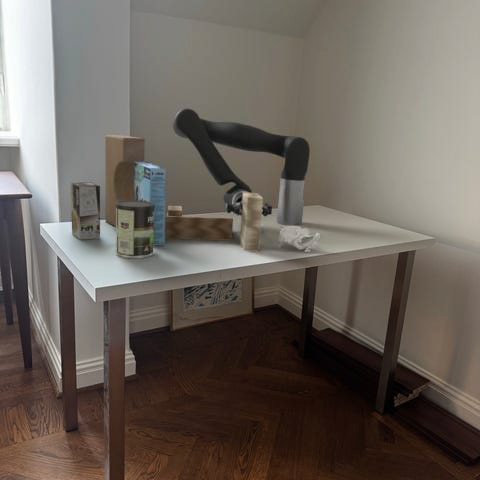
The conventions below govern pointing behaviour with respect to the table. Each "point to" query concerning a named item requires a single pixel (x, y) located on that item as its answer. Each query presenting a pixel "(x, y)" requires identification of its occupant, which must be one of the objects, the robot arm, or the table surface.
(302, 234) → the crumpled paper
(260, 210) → the light wooden block
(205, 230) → the brown wooden block
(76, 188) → the coffee box
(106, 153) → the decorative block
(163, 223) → the light blue carton
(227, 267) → the table surface
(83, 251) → the table surface
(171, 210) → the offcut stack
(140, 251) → the coffee can
